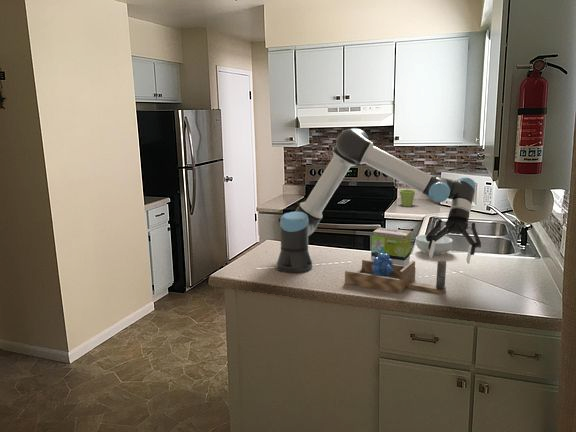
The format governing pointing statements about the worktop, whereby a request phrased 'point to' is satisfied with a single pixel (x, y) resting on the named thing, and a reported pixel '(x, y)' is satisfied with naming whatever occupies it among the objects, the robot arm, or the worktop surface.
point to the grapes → (382, 265)
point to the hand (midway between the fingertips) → (448, 259)
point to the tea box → (392, 245)
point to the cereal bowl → (440, 245)
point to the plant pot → (407, 197)
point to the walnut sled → (396, 285)
